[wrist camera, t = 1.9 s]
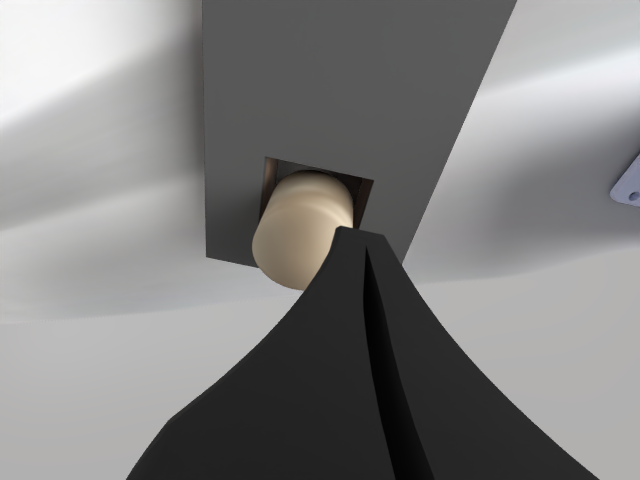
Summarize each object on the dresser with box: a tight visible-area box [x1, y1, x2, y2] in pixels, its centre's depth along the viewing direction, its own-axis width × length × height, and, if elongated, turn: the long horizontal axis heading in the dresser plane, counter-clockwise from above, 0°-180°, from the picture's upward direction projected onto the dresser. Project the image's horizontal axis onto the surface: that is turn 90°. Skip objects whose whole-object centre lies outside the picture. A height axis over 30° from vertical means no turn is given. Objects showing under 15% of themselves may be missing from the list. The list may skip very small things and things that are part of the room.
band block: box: [202, 0, 517, 268], centre depth 14 cm, size 10×21×4 cm, turn 169°
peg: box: [252, 170, 353, 290], centre depth 15 cm, size 4×4×4 cm
